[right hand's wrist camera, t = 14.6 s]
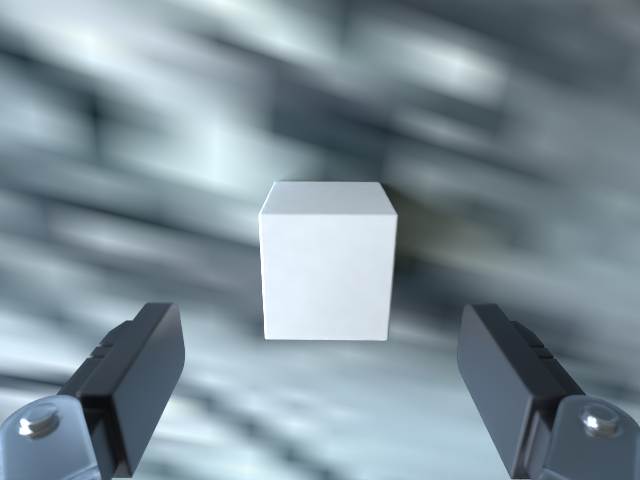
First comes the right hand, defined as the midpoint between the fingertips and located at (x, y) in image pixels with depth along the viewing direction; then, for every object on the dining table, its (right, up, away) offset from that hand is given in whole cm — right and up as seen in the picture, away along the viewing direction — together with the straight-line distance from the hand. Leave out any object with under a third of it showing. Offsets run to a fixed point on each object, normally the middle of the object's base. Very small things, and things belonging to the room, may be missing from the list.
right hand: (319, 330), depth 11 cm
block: (0, +3, +7) cm, 7 cm away
